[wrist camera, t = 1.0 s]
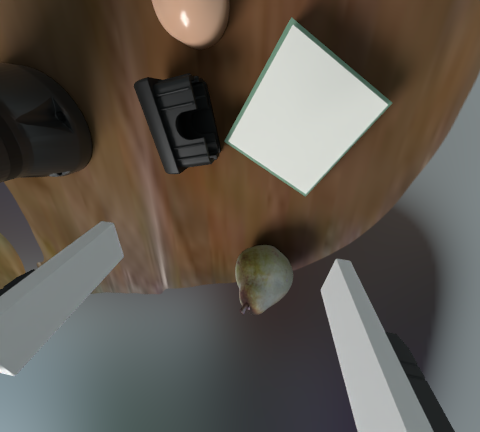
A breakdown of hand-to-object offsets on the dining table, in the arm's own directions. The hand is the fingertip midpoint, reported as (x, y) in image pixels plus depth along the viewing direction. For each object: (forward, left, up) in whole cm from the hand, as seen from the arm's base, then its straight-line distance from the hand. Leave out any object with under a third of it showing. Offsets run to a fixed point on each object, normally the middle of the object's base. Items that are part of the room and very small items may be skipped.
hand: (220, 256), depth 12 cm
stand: (+2, +8, -20) cm, 21 cm away
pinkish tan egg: (-14, +11, -20) cm, 27 cm away
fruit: (+12, -13, -20) cm, 27 cm away
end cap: (-10, 0, -20) cm, 23 cm away
